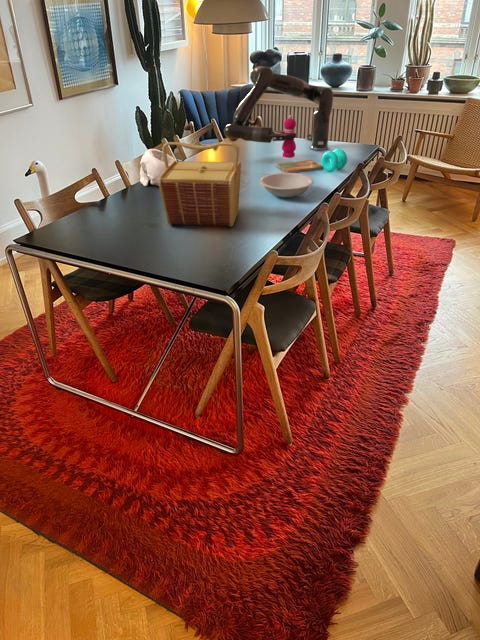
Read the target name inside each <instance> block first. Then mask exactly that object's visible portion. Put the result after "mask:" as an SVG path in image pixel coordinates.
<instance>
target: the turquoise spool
mask: <svg viewBox="0 0 480 640" xmlns="http://www.w3.org/2000/svg"><path fill="white" fill-rule="evenodd" d="M347 163H348V155H347V153H346V151H345V150H344V149H342V148H336V149H334V150H333V151H331V150H329V151H325V152H324V153H323V155H322V156H321V166H323V170H325V171H327V172H330V173H331V172H335V171H336V170H341V169H344V168H345V166H346V165H347Z"/></svg>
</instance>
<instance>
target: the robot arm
mask: <svg viewBox="0 0 480 640" xmlns="http://www.w3.org/2000/svg"><path fill="white" fill-rule="evenodd" d="M249 79H250V82H251V83H252V84H253V85H254V86H253V88H252V89H251V90H250V92H249V93H248V94H247V95H246V96H245V98H244V99H243V100H242V101H241V102H240V103H239V104H238V107H237V108H236V111H235V112H234V114H233V117H232V118H233V121H232V123H229V124H227V125H225V127H224V129H223V133H224V136H225V137H226V138H227V139H228V140H229V141H230V142H232V143H234V142H236V141H238V140H239V139H241V140H243V141H244V142H245V141H246V142H256V143H263V144H264V143H265V144H271V143H272V141H273V142H284V140H286V139H287V140H294V141H295V139H296V138H297V133H296V132H294V134H293V135H287V136H286V133H285V130H282V129H278V130H275V131H273V128H272V127H271V126H246V125H245V124H246V122H247V121H248V119H249V117H250V115H251V113H252V112H253V109H254V108H255V106H256V105H257V103H258V102H259V100H260V99H261V97H262V96H263V95H264V93H265V92H266V91H267V90H268V89H272V90H274V91H276V92H279V93H281V94H284V95H287V96H290V97H293V98H299V99H305V100H308V101H310V102H312V103H314V104H317V105H318V109H317V110H316V111H314V112H313V117H312V118H313V120H312V135H311V134H310V133H309V134H307V135H306V137H305V138H306V140H308V141H311V150H314V151H325V150H327V149H328V145H329V133H330V116H331V114H332V110H333V102H334V92H333V90H332V88H330V87H327V86H320V85H313V84H309V83H307V82H306V81H305V80H303V79H301V78H298V77H297V76H292V75H288V74H282V73H275V72H273V70H272V69H271V68H270V67H269V66H255V67H253V69H252V70H251V71H250V73H249Z"/></svg>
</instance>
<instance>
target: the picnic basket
mask: <svg viewBox="0 0 480 640" xmlns="http://www.w3.org/2000/svg"><path fill="white" fill-rule="evenodd" d="M168 146H181V147H182V148H184V149H188V150H193V151H207V150H213V149H215V148H218V147H221V146H222V147H224V146H227V147H228V146H230V147H233V148H234V161H190V160H189V161H188V160H187V161H184V160H183V161H181V160H180V161H179V160H178V161H177V160H176V161H173V162H172V163H171V164H170V165H169V166H168V160H167V155H166V154H167V147H168ZM161 151H162V152H163V157H164V162H165V168H166V169H165V170H164V172H163V173H162V174H161V175H160V176H159V180H158V183H159V186H158V187H159V192H160V197H161V201H162V205H163V210H164V213H165V218H166V223H167V224H168V225H169V226H173V225H190V226H218V227H219V226H220V227H230V228H232V227H233V225H234V223H235V221H236V218H237V216H238V213H239V207H240V206H239V205H240V189H241V176H242V175H241V173H242V163H241V161H239V154H240V149H239V147H238V145H237V144H235V143H234V142H216V143H211V144H206V145H196V144H190V143H185V142H180V141H179V142H178V141H177V142H176V141H168V142H165V143H163V145H162V148H161Z"/></svg>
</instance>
